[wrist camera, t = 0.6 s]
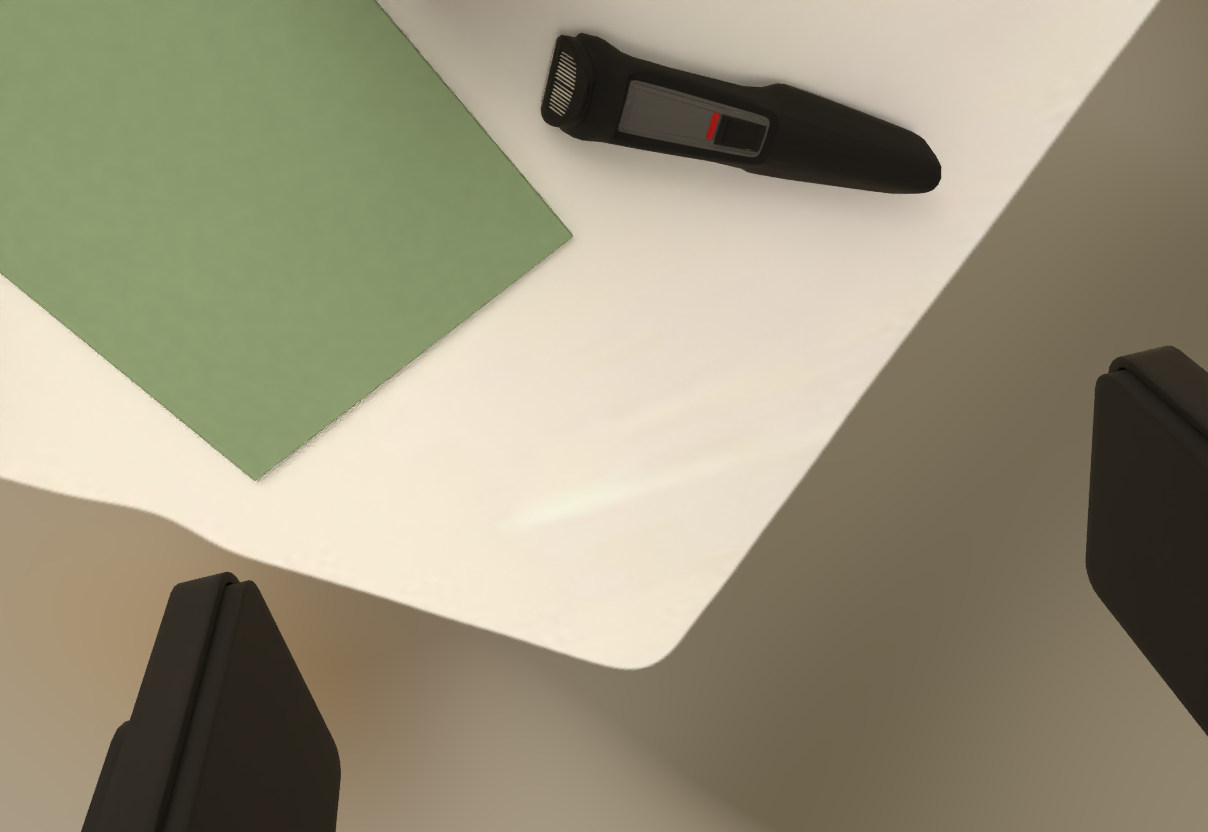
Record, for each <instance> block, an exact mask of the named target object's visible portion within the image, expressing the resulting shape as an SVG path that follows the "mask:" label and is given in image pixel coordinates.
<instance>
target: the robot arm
mask: <svg viewBox="0 0 1208 832" xmlns="http://www.w3.org/2000/svg"><path fill="white" fill-rule="evenodd" d="M1092 437H1093V438H1092V454H1091V472H1090V490H1089V491H1090V492H1089V508H1088V527H1087V544H1086V569H1087V574H1088V577H1089V580H1090V583H1091V585H1092V587H1093V589H1094V590H1095V592H1096V593H1097V595H1098V597H1099V598H1100V599H1101V600H1102V602H1103V603H1104V604H1105V606H1106V607H1107V608H1108V609H1109V611H1110V612H1111V613H1112V615H1113V616H1114V617H1115V618H1116V620H1117V621H1118V622H1119V623H1120V625H1121V626H1122V627H1123V629H1124V630H1125V631H1126V632H1127V634H1128V635H1129V636H1130V637H1131V639H1132V640H1133V641H1134V643H1135V644H1136V645H1137V646H1138V648H1139V649H1140V650H1141V651H1142V653H1143V654H1144V655H1145V657H1146V658H1147V659H1148V660H1149V662H1150V663H1151V664H1152V666H1153V667H1154V668H1155V669H1156V671H1157V672H1158V673H1159V674H1160V676H1161V677H1162V678H1163V679H1164V681H1165V682H1166V683H1167V685H1168V686H1169V687H1170V689H1171V690H1172V691H1173V692H1174V694H1175V695H1176V696H1177V698H1178V699H1179V700H1180V701H1181V702H1182V704H1183V705H1184V706H1185V708H1186V709H1187V710H1188V712H1189V713H1190V714H1191V715H1192V717H1193V718H1194V719H1195V720H1196V722H1197V723H1198V724H1199V726H1201V728H1202V729H1203V731H1204V732H1205V733H1206V735H1207V736H1208V372H1206V371H1205V370H1204V369H1203V368H1201V367H1200V366H1199V365H1198V364H1196V363H1195V362H1194V361H1192V360H1191V359H1190V358H1189V357H1187V356H1186V355H1185V354H1184V353H1183V352H1181V351H1180V350H1179V349H1177V348H1175V347H1173V346H1163V347H1159V348H1155V349H1150V350H1146V351H1142V352H1138V353H1134V354H1130V355H1126V356H1121V357H1118V358H1116V359H1115V360H1113V361H1112V363H1111V365H1110V367H1109V372H1108V374H1104V375H1101V376H1100V377H1099V378H1098V380H1097V382H1096V387H1095V401H1094V419H1093V436H1092ZM340 779H341V768H340V760H339V755H338V750H337V747H336V745H335V742H334V740H333V738H332V736H331V734H330V732H329V730H328V728H327V726H326V724H325V722H324V720H323V718H322V716H321V714H320V712H319V710H318V708H317V706H316V704H315V701H314V699H313V697H312V695H311V693H310V691H309V690H308V687H307V685H306V684H305V681H304V679H303V677H302V675H301V673H300V671H299V669H298V667H297V665H296V663H295V661H294V659H293V657H292V655H291V653H290V651H289V649H288V647H287V645H286V643H285V641H284V639H283V637H282V635H281V633H280V631H279V629H278V627H277V625H276V623H275V621H274V619H273V617H272V615H271V613H270V611H269V609H268V607H267V605H266V603H265V601H264V599H263V597H262V595H261V593H260V590H259V589H258V587H257V586H256V584H255V583H254V582H253V581H250V580H248V581H244V582H239V580H238V579H237V577H236V576H235V575H233V574H232V573H230V572H224V573H220V574H216V575H212V576H208V577H203V578H199V579H195V580H191V581H187V582H183V583H179V584H177V585H176V586H175V587H174V588H173V590H172V592H171V594H170V597H169V600H168V604H167V606H166V609H165V613H164V616H163V619H162V622H161V625H160V628H159V631H158V634H157V638H156V641H155V644H154V647H153V650H152V653H151V656H150V659H149V663H148V665H147V669H146V672H145V675H144V678H143V681H142V684H141V687H140V690H139V693H138V697H137V700H136V703H135V706H134V709H133V713H132V715H131V718H130V721H126V722H124V723H123V725H121V726H120V727H119V728H118V729H117V731H116V733H115V735H114V737H113V739H112V741H111V744H110V747H109V750H108V753H107V756H106V759H105V762H104V765H103V768H102V771H101V774H100V777H99V780H98V783H97V786H96V789H95V792H94V795H93V798H92V801H91V804H90V807H89V810H88V813H87V816H86V819H85V822H84V825H83V828H82V831H81V832H335V831H336V821H337V810H338V800H339V790H340Z"/></svg>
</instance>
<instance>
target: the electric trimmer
mask: <svg viewBox="0 0 1208 832" xmlns="http://www.w3.org/2000/svg"><path fill="white" fill-rule="evenodd" d="M553 50H554V51H553V53H552V54H553V56H552V57H551V58H552V61H550V62H551V63H550V64H551V65H549V66H550V67H549V68H550V69H549V75H548V77H547V81H546V82H547V83H546V85H545V86H546V87H545V88H544V90H545V91H544V92H543V93H544V94H543V95H544V96H542V97H543V98H542V99H543V100H541V101H542V106H541V115H542V118H543V120H544V121H545V122H546V123H548V124H549V125H551V126H554V127H559V128H560V129H561V130H562V131H563V132H565V133H567V134H568V135H570V136H572V137H574V138H577V139H580V140H584V141H596V142H604V143H609V144H614V145H620V146H625V147H630V148H636V149H641V150H647V151H652V152H658V153H664V154H670V155H676V156H682V157H688V158H693V159H699V160H705V161H711V162H716V163H720V164H724V165H728V166H732V167H737V168H741V169H743V170H745V171H747V172H749V173H754V174H758V175H764V176H770V177H776V178H781V179H787V180H795V181H802V182H809V183H816V184H823V185H831V186H838V187H845V188H852V189H860V190H867V191H874V192H883V193H892V194H919V193H926V192H929V191H932V190H933V189H934V188H935V187H936V186H937V185H938V184H939V182H940V179H941V165H940V163H939V161H938V159H937V157H936V155H935V154H934V153H933V151H932V150H931V148H930V147H929V146H928V144H927V143H926V141H925V140H924V139H923V138H921V137H920V136H918V135H917V134H915V133H914V132H911V131H909V130H906V129H904V128H901V127H899V126H896V125H894V124H892V123H889V122H886V121H884V120H881V119H878V118H876V117H873V116H871V115H868V114H865V113H863V112H860V111H857V110H855V109H852V108H849V107H847V106H844V105H841V104H839V103H836V102H833V101H831V100H828V99H825V98H823V97H820V96H817V95H815V94H812V93H809V92H806V91H803V90H800V89H797V88H794V87H791V86H788V85H785V84H773V85H769V86H765V87H750V86H741V85H737V84H733V83H729V82H725V81H721V80H717V79H713V78H709V77H705V76H701V75H697V74H693V73H689V72H685V71H681V70H677V69H673V68H669V67H666V66H662V65H659V64H655V63H652V62H649V61H645V60H642V59H639V58H635V57H632V56H630V55H627V54H625V53H622V52H620V51H619V50H618V49H616V48H615V47H614V46H612V45H611V44H609V43H608V42H607V41H605V40H604V39H601V38H599V37H597V36H592V35H588V34H584V33H580V34H578V35H577V36H576V37H569V36H563V35H561V36H559V37H558V39H557V40H556V43H555V45H554V49H553Z"/></svg>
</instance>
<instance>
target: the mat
mask: <svg viewBox="0 0 1208 832" xmlns="http://www.w3.org/2000/svg"><path fill="white" fill-rule="evenodd" d="M572 237H573V236H572V234H571V232H570V231H569V230H568V229H567V228H566V226H565V225H564V224H563V223H562V222H561V221H560V219H559V218H558V217H557V216H556V215H555V213H554V212H553V211H552V210H551V209H550V207H549V206H548V205H547V204H546V203H545V202H544V200H543V199H542V198H541V197H540V196H539V194H538V193H537V192H536V191H535V190H534V188H533V187H532V186H531V185H530V184H529V183H528V181H527V180H526V179H525V178H524V177H523V175H522V174H521V173H520V172H519V171H518V169H517V168H516V167H515V166H514V165H513V164H512V162H511V161H510V160H509V159H508V158H507V156H506V155H505V154H504V153H503V152H502V150H501V149H500V148H499V147H498V146H497V145H496V143H495V142H494V141H493V140H492V139H491V137H490V136H489V135H488V134H487V133H486V131H485V130H484V129H483V128H482V127H481V126H480V124H479V123H478V122H477V121H476V120H475V118H474V117H473V116H472V115H471V114H470V112H469V111H468V110H467V109H466V108H465V107H464V105H463V104H462V103H461V102H460V101H459V99H458V98H457V97H456V96H455V95H454V93H453V92H452V91H451V90H450V89H449V88H448V86H447V85H446V84H445V83H444V82H443V80H442V79H441V78H440V77H439V76H438V74H437V73H436V72H435V71H434V70H433V69H432V67H431V66H430V65H429V64H428V63H427V61H426V60H425V59H424V58H423V57H422V55H421V54H420V53H419V52H418V51H417V50H416V48H415V47H414V46H413V45H412V44H411V42H410V41H409V40H408V39H407V38H406V36H405V35H404V34H403V33H402V32H401V31H400V29H399V28H398V27H397V26H396V25H395V23H394V22H393V21H392V20H391V19H390V17H389V16H388V15H387V14H386V13H385V12H384V10H383V9H382V8H381V7H380V6H379V4H378V3H377V2H376V1H375V0H0V273H1V274H2V275H4V276H5V277H6V278H7V279H8V280H10V281H11V282H12V283H13V284H15V285H16V286H17V287H18V288H19V289H21V290H22V291H23V292H24V293H26V294H27V295H28V296H29V297H30V298H32V299H33V300H34V301H35V302H37V303H38V304H39V305H40V306H41V307H43V308H44V309H45V310H46V311H48V312H49V313H50V314H51V315H52V316H54V317H55V318H56V319H57V320H59V321H60V322H61V323H62V324H63V325H65V326H66V327H67V328H68V329H70V330H71V331H72V332H73V333H74V334H76V335H77V336H78V337H79V338H81V339H82V340H83V341H84V342H85V343H87V344H88V345H89V346H90V347H92V348H93V349H94V350H95V351H96V352H98V353H99V354H100V355H101V356H103V357H104V358H105V359H106V360H107V361H109V362H110V363H111V364H112V365H114V366H115V367H116V368H117V369H118V370H120V371H121V372H122V373H123V374H125V375H126V376H127V377H128V378H129V379H131V380H132V381H133V382H134V383H136V384H137V385H138V386H139V387H140V388H142V389H143V390H144V391H145V392H147V393H148V394H149V395H150V396H151V397H153V398H154V399H155V400H156V401H158V402H159V403H160V404H161V405H162V406H164V407H165V408H166V409H167V410H169V411H170V412H171V413H172V414H173V415H175V416H176V417H177V418H178V419H180V420H181V421H182V422H183V423H184V424H186V425H187V426H188V427H189V428H191V429H192V430H193V431H194V432H195V433H197V434H198V435H199V436H200V437H202V438H203V439H204V440H205V441H206V442H208V443H209V444H210V445H211V446H213V447H214V448H215V449H216V450H217V451H219V452H220V453H221V454H222V455H224V456H225V457H226V458H227V459H228V460H230V461H231V462H232V463H233V464H235V465H236V466H237V467H238V468H239V469H241V470H242V471H243V472H244V473H246V474H247V475H248V476H249V477H250V478H252V479H253V480H254V481H256V480H257V479H258V478H260V477H261V476H262V475H264V474H265V473H266V472H268V471H269V470H270V469H271V468H273V467H274V466H275V465H277V464H278V463H279V462H281V461H282V460H283V459H284V458H286V457H287V456H288V455H290V454H291V453H292V452H294V451H295V450H296V449H297V448H299V447H300V446H301V445H303V444H304V443H305V442H307V441H308V440H309V439H311V438H312V437H313V436H314V435H316V434H317V433H318V432H320V431H321V430H322V429H324V428H325V427H326V426H327V425H329V424H330V423H331V422H333V421H334V420H335V419H337V418H338V417H339V416H340V415H342V414H343V413H344V412H346V411H347V410H348V409H350V408H351V407H352V406H353V405H355V404H356V403H357V402H359V401H360V400H361V399H363V398H364V397H365V396H366V395H368V394H369V393H370V392H372V391H373V390H374V389H376V388H377V387H378V386H379V385H381V384H382V383H383V382H385V381H386V380H387V379H389V378H390V377H391V376H392V375H394V374H395V373H396V372H398V371H399V370H400V369H402V368H403V367H404V366H406V365H407V364H408V363H409V362H411V361H412V360H413V359H415V358H416V357H417V356H419V355H420V354H421V353H422V352H424V351H425V350H426V349H428V348H429V347H430V346H432V345H433V344H434V343H435V342H437V341H438V340H439V339H441V338H442V337H443V336H445V335H446V334H447V333H448V332H450V331H451V330H452V329H454V328H455V327H456V326H458V325H459V324H460V323H461V322H463V321H464V320H465V319H467V318H468V317H469V316H471V315H472V314H473V313H474V312H476V311H477V310H478V309H480V308H481V307H482V306H484V305H485V304H486V303H487V302H489V301H490V300H491V299H493V298H494V297H495V296H497V295H498V294H499V293H501V292H502V291H503V290H504V289H506V288H507V287H508V286H510V285H511V284H512V283H514V282H515V281H516V280H517V279H519V278H520V277H521V276H523V275H524V274H525V273H527V272H528V271H529V270H530V269H532V268H533V267H534V266H536V265H537V264H538V263H540V262H541V261H542V260H543V259H545V258H546V257H547V256H549V255H550V254H551V253H553V252H554V251H555V250H556V249H558V248H559V247H560V246H562V245H563V244H564V243H566V242H567V241H568V240H569V239H571V238H572Z"/></svg>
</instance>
